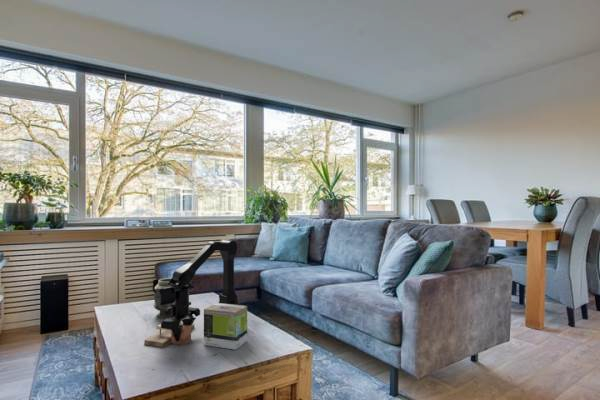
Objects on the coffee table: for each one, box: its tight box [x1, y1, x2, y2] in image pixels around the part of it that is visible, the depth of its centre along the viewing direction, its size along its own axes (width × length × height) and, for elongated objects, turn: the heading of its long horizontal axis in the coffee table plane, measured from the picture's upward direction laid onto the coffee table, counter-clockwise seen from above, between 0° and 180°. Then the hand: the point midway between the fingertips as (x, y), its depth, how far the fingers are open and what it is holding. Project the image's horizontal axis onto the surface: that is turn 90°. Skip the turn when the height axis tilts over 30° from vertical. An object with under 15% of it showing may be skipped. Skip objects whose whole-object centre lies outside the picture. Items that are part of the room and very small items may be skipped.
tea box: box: [203, 302, 248, 350], centre depth 137 cm, size 15×10×15 cm
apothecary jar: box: [153, 277, 178, 319], centre depth 170 cm, size 12×12×18 cm
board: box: [143, 322, 195, 348], centre depth 144 cm, size 9×21×2 cm, turn 163°
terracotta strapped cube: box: [156, 324, 192, 346], centre depth 139 cm, size 14×5×6 cm, turn 75°
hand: (181, 338), depth 138 cm, fingers open, 5 cm apart
